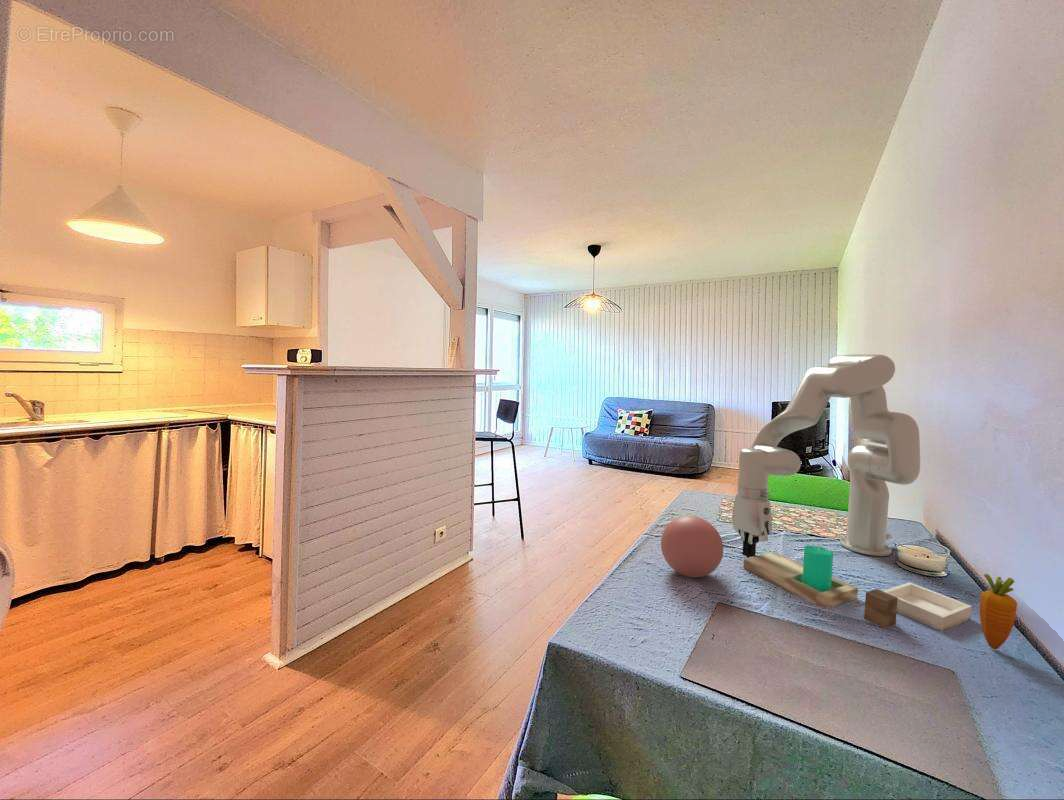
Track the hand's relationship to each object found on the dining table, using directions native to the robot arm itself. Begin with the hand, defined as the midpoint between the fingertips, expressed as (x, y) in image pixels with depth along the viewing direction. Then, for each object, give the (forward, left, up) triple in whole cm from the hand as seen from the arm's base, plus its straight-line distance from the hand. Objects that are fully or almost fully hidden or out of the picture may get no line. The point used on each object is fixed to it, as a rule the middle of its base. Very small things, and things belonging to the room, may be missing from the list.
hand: (748, 555), depth 127 cm
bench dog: (0, +33, -1) cm, 34 cm away
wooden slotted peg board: (0, +14, -1) cm, 15 cm away
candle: (0, +19, -1) cm, 20 cm away
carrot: (-10, +48, -1) cm, 49 cm away
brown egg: (+20, 0, -1) cm, 20 cm away
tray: (-14, +35, -1) cm, 38 cm away
